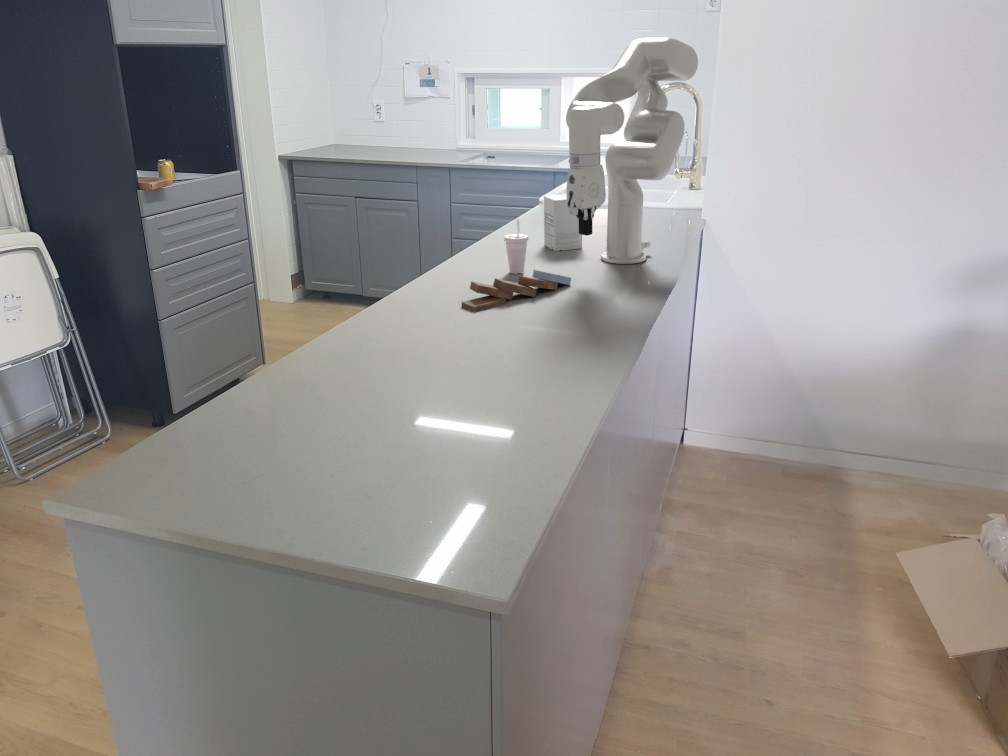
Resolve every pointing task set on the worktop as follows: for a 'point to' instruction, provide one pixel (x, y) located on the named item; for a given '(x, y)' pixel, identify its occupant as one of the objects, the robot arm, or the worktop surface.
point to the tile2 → (537, 283)
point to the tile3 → (514, 287)
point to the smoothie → (516, 250)
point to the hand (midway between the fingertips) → (585, 234)
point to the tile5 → (483, 303)
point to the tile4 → (490, 290)
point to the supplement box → (560, 225)
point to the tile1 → (551, 277)
